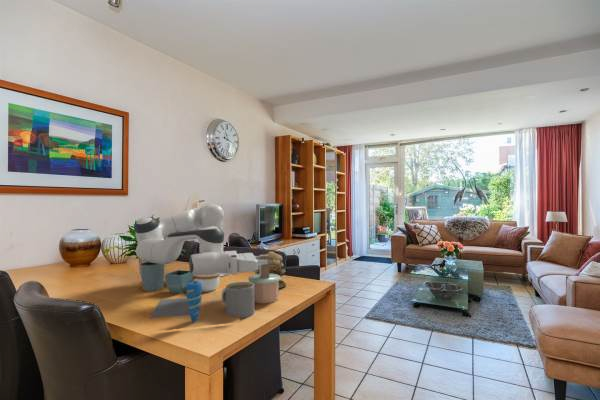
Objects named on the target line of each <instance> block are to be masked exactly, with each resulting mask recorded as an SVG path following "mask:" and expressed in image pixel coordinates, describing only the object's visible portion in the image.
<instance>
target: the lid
mask: <svg viewBox="0 0 600 400" xmlns="http://www.w3.org/2000/svg"><path fill="white" fill-rule="evenodd" d="M259 256H260V260H263V259H267V260H268V264H263V265H260V274H256V275H255V274H252V275H250V276H249V277H248V280H247V281H248V282H250V283H255V284H270V283H275V282H278V281H280V280H281V277H280V276H279V275H277V274H269V255H268V253H266V254H259Z"/></svg>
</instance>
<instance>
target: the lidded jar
mask: <svg viewBox="0 0 600 400" xmlns="http://www.w3.org/2000/svg"><path fill="white" fill-rule="evenodd" d="M195 279H196V282H200V283H201V285H202V293H203V292H204V293H206V292H207V293H208V292H213V291H215V290H216V289H217V288H218V287H219V284H220V279H221V277H220V273H217V274H214V275H195V277H194V280H195Z"/></svg>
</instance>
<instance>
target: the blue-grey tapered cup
mask: <svg viewBox="0 0 600 400" xmlns="http://www.w3.org/2000/svg"><path fill="white" fill-rule="evenodd" d="M139 265H140V271H141V273H140V274H141V282H142V290H143V291H144V292H153V291H154V292H155V291H160V290H162V289H163V288H164V280H165V279H164V278H165V264H156V263H151V262H147V261H144V262H141V263H140V264H139Z"/></svg>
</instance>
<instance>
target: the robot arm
mask: <svg viewBox="0 0 600 400" xmlns="http://www.w3.org/2000/svg"><path fill="white" fill-rule="evenodd" d="M224 217H225V213H224V209H223V208H222V207H221V206H220V205H218V204H215V203H211V204H204V205H200V206H197V207H194V208H191V209H187V210H185V211H180V212H177V213H173V214H172V213H171V214H170V215H167V216H163V217H161V218H159V219H156V217H151V216H145V217H142V218H140V219H137V220H136V221H135V223H134V224H133V232H134V234H135V237H136V238H135V239H136V242H137V245H136V248H135V254H136V256H137V257H138V258H139V260H142V261H144V262H151V263H156V264H164V265H170V264H172V263H173V262H175V261H176V260H177V259H178V258H179V256H180V254H181V253H182V249H183V246H184V244H185V242H186V241H189V240H197V241H198V244H199V247H198V248H199V253H194V254H191V255H190V256H189V260H188V265H189V271H190V272H191V274H193V278H195V275H214V274H217V273H220V278H221V277H223V276H227V275H233V276H234V275H238V274H240V273H251V272H255V271H256V270H258V266H260V265H263V264H268V260H267V259H263V260H260V255H254V253H253V252H244V253H237V250H225V251H224V241H225V232H224V230H223V227H224Z"/></svg>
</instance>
